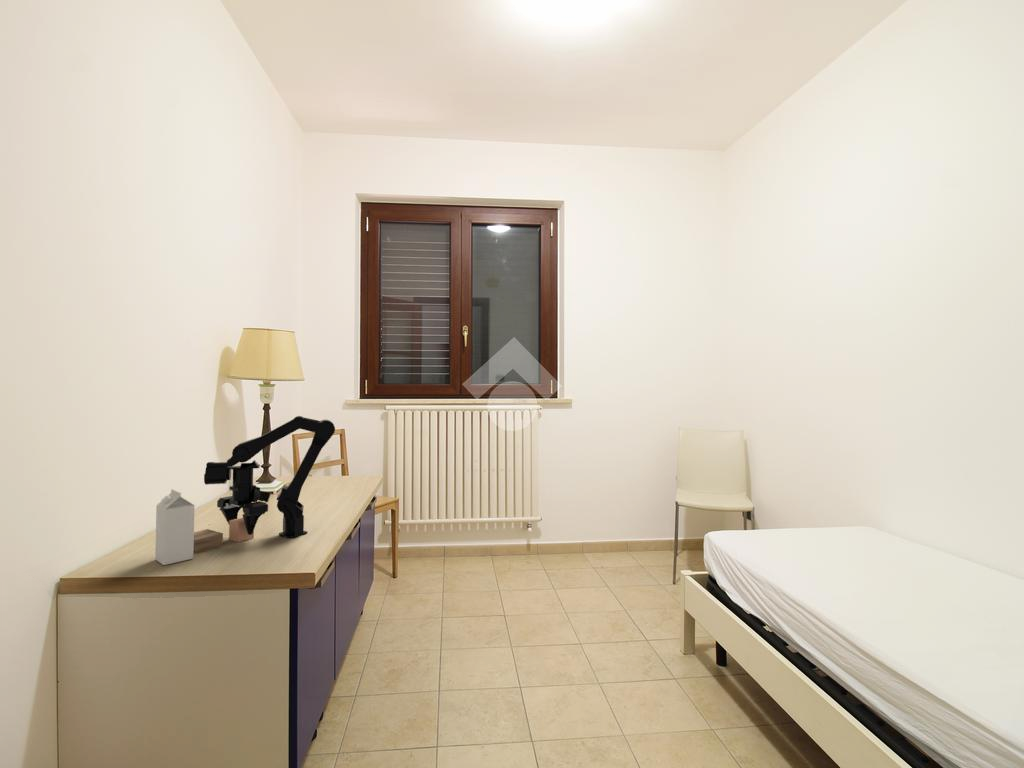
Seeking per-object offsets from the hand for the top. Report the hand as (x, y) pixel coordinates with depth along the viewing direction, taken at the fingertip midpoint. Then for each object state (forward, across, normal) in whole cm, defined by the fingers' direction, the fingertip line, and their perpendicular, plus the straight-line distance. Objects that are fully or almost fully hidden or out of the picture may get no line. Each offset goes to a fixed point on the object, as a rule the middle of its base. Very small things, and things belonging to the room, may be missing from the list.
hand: (241, 532), depth 158 cm
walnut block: (+2, +2, +11) cm, 12 cm away
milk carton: (+2, -3, +21) cm, 21 cm away
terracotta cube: (+2, 0, 0) cm, 2 cm away
